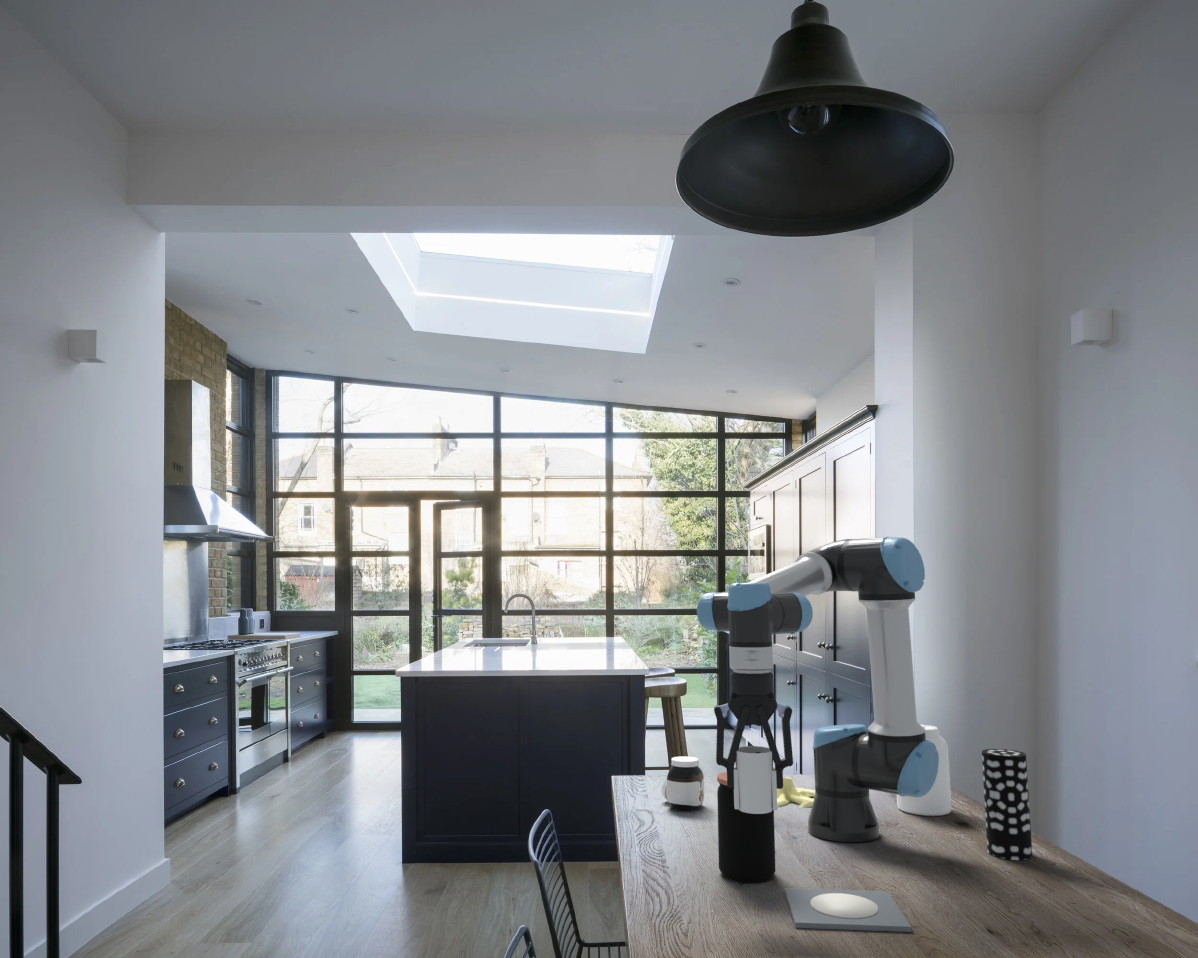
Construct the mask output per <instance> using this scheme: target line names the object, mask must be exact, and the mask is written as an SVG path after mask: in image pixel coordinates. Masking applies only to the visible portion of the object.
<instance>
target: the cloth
mask: <svg viewBox="0 0 1198 958" xmlns="http://www.w3.org/2000/svg"><path fill="white" fill-rule="evenodd" d="M811 797H813V798H811ZM814 798H815V789H810V788H801V787H800V788H799V787H795V783H794V780H793V779H792V778H790V777H787V776H783V788H782V789H777V809H778V808H780V807H783V806H784V807H785V806H786V805H788V803H789V804H790V803H791V802H792V803H795V804H797V805H799V806H798V807H799V808H801V809H805V808H806V809H807V808H812V805H813V802H814Z"/></svg>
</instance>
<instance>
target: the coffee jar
mask: <svg viewBox="0 0 1198 958" xmlns="http://www.w3.org/2000/svg"><path fill="white" fill-rule="evenodd" d="M716 779H717V780H716V781H717V782H718V783H719V786H718V787H717V791H716V792H717V794H716V795H717V840H718V841H717V842H718V843H717V844H718V847H717V848H718V869H719V872H721V874H722V876H723V877H724V878H725V879H728V880H729V881H733V882H737V883H741V884H742V883H744V884H759V883H765V882H768V881H769V880H771V879H772V878H773V876H774V875H775V873H776V843H775V842H776V841H775V839H776V838H775V810H772V811H771V812H769V813H764V814H751V813H745V812H742V811H740V810H739V809H735V807H734V788H728V785H727V771H724V772H720V773H719V774H717V777H716Z"/></svg>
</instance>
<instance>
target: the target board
mask: <svg viewBox="0 0 1198 958" xmlns="http://www.w3.org/2000/svg"><path fill="white" fill-rule="evenodd" d="M784 895H785V898H786V901H787V905H788V907H789V911H790V915H791V917H792V920H793V924H794V926H795V927H794V928H797V929H819V930H822V929H823V930H842V931H843V930H845V931H847V930H848V931H870V932H872V931H873V932H874V931H876V932H898V933H901V932H902V933H912V926H911V924H910V922H909V921H908V919H907V918H906V916H905V914H904V913H903V911H902V910H901V908H900V907H899V906H898V904H897V903H896V901H895V900H894V898H893V896H892V895H891V893H890V892H889V890H866V889H865V890H863V889H861V890H860V889H859V890H857V889H830V888H804V887H803V888H799V887H797V888H796V887H784Z"/></svg>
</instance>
